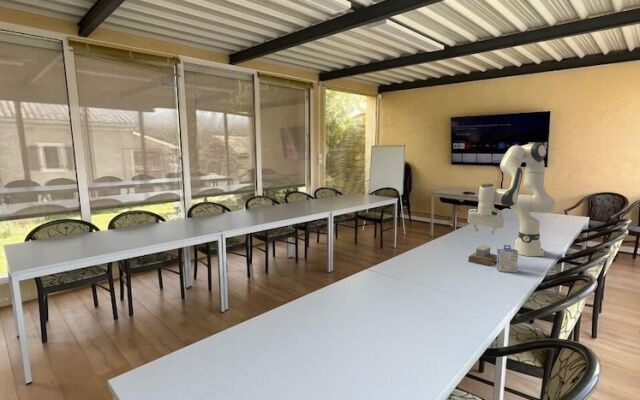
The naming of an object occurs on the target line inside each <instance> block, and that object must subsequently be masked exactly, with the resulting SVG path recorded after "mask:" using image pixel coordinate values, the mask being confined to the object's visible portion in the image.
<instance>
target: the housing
mask: <svg viewBox="0 0 640 400" xmlns="http://www.w3.org/2000/svg"><path fill="white" fill-rule="evenodd" d="M475 249H476V250H475V252H476V256H480V257H486V256H488V255H489V254H491V246H490V245H485V244H481V245H479V246H477V247H476V248H475Z"/></svg>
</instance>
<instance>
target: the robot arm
mask: <svg viewBox="0 0 640 400" xmlns="http://www.w3.org/2000/svg"><path fill="white" fill-rule="evenodd" d="M546 155H547V148H546V146H545V144H543V143H540V142H538V143H537V142H536V143H535V142H534V143H527V144H524V145H518V144H517V145H512V146H511V147H509V148H508V149H507V151H506V152H505V153H504V154H503V157H502V159H501V161H500V164H499V167H500V170H501V172H502V173H503V174H505V175H506V176H508V177H510V178H511V180H510V181H511V183H510V185H509V188H507V189H505V188H497V187H495V185H494V184H493V183H483V184H481V185H480V186H479V188H478V189H479V191H478V204H477V209H474V208H471V209H469V210H468V211H467V214H468V217H467V223H468V224H469V225H470V224H471V225H473V228H474V232H478V233H479V228H478V227H477V226H483V227H490V228H493V230H491V231H490V234H491V235H495V232H496V230H497V229H502V228H503V227H504V226H505V225H504V224H505V220H504V219H505V218H504V216H503V215H502V214H503V211H502V210H500V209H498V208H496V207H495V205H500V206H505V207H509V208H510V209H511V210H512V211H514V212H515V214H516V215H517V217H518V219H519V220H518V221H519V231H518V235H517V236H518V237H517V238H516V239H515V243H514V248H513V249H516V250H517V251H518V255H521V256H527V257H545V249H543V247H542V242H541V240H540V237H541V236H540V235H541V234H540V228H541V227H540V226H541V224H540V221H539V219H537V218H536V217H534V216H532V215H531V214H530V213H540V214H541V213H542V214H544V213H552V212H553V211H554V210H555V207H556V202H555V199H554V198H553V197H552V196H550V194H548V192H547V191H546V189H545V169H546V168H545V160H544V159H545V157H546ZM522 163H525V169H524V174H523V169H522V168H521V165H522ZM523 175H524V177H523ZM522 181H523V186H524V187H525V188H526V189H527V190H529V191H532V192H533V194H521V193H520V194H519V191H520V188H521V184H522Z"/></svg>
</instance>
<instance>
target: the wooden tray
mask: <svg viewBox="0 0 640 400" xmlns="http://www.w3.org/2000/svg"><path fill="white" fill-rule="evenodd" d="M468 262H469V263H472V264H477V265H483V266H487V267H490V266H491V265H493V263H496V262H497V254H494V253H490V254H489V255H488V256H486V257H480V256H476V251H475V252H473V253H471V254H470V255H469V256H468Z"/></svg>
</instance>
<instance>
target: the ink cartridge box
mask: <svg viewBox="0 0 640 400" xmlns="http://www.w3.org/2000/svg"><path fill="white" fill-rule="evenodd" d="M496 251H497V253H496V255H497V261H496V270H497V271H498V272H504V273H505V272H506V273H518V262H519V261H518V259H519V254H518V251H517V250H516V249H514V248H512V247H511V245H510V244H503V248H497V250H496Z"/></svg>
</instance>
